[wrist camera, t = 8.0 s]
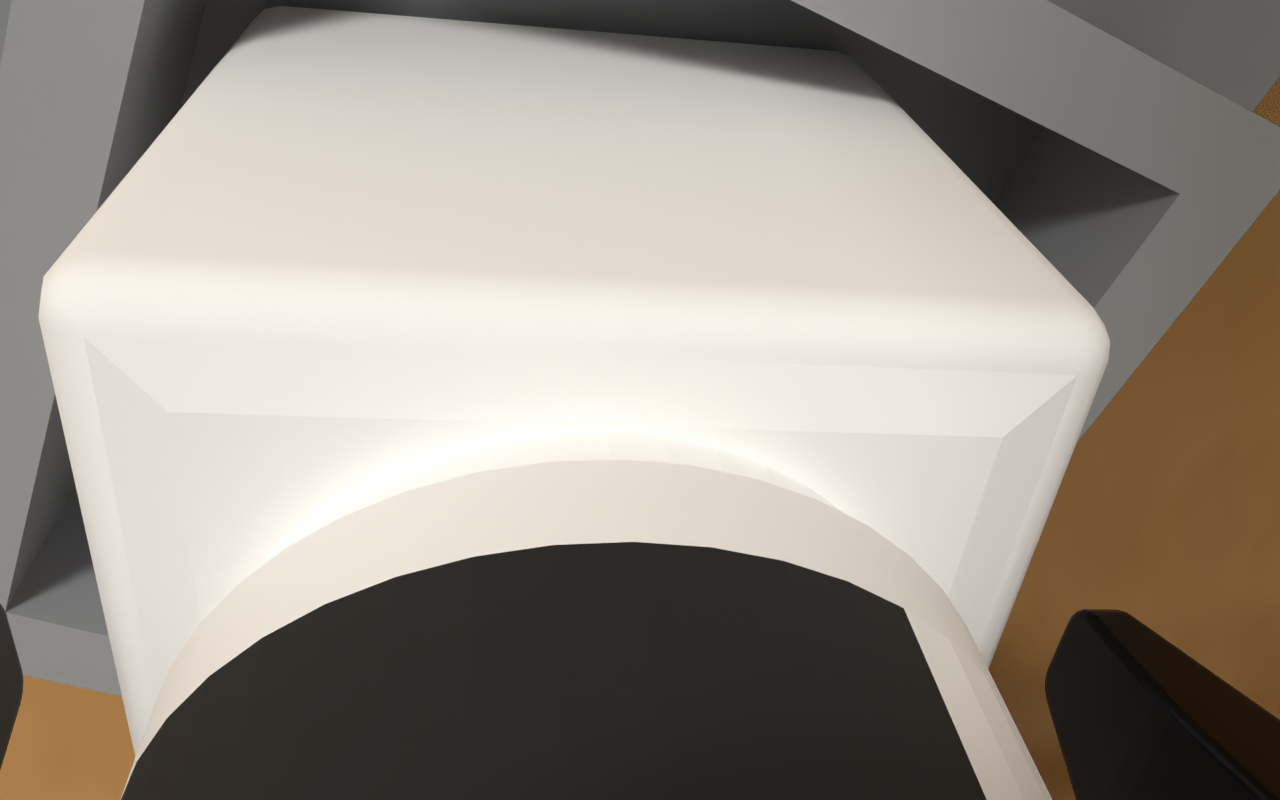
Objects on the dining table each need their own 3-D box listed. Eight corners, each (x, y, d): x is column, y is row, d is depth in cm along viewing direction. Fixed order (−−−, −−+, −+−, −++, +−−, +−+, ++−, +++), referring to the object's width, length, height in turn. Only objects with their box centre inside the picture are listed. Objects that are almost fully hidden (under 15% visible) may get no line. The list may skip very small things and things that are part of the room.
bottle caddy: (99, -731, 10) (-121, -962, 6) (1287, -15, 14) (1523, 71, 11) (-94, 500, 17) (-249, 702, 13) (752, 715, 21) (797, 905, 18)
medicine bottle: (295, 495, 16) (-70, 1828, 6) (252, -6, 12) (-957, 1364, 2) (763, 504, 17) (1126, 1662, 7) (858, 45, 13) (1964, 1135, 3)
